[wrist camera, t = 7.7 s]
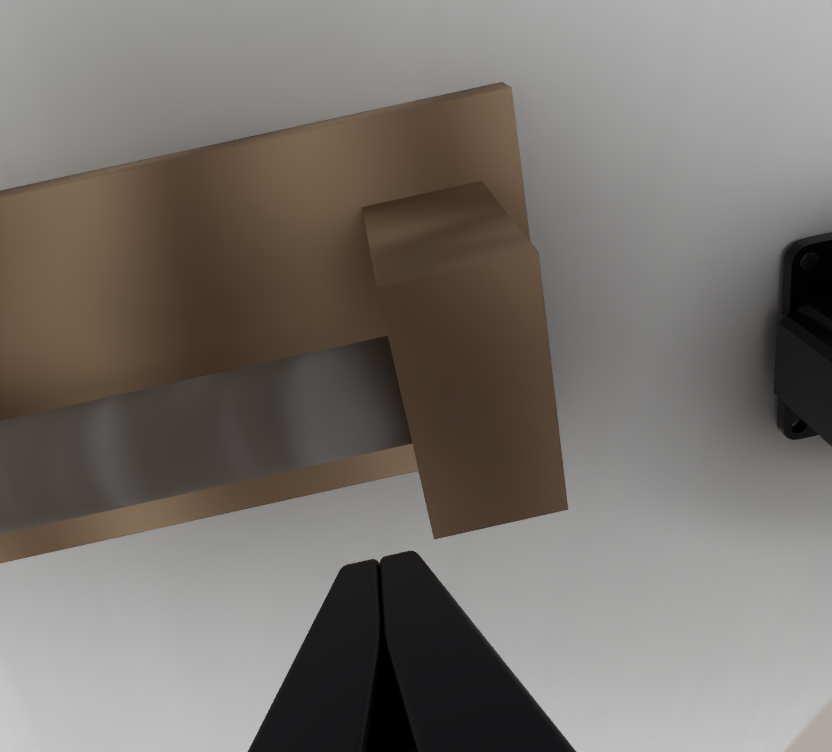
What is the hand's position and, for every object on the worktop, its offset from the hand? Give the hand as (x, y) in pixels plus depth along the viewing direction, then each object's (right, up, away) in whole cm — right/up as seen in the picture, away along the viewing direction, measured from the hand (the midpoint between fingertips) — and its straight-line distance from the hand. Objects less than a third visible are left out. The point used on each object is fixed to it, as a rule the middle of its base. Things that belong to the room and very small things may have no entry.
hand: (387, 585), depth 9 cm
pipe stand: (-11, +2, +12) cm, 17 cm away
